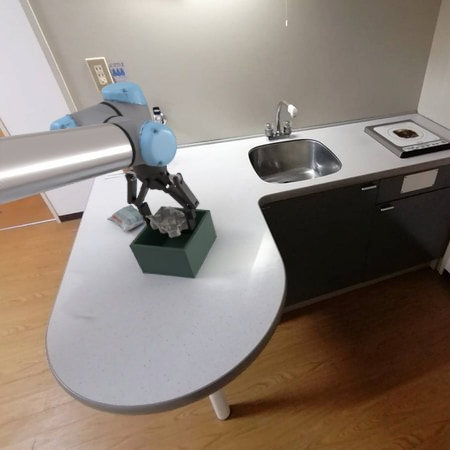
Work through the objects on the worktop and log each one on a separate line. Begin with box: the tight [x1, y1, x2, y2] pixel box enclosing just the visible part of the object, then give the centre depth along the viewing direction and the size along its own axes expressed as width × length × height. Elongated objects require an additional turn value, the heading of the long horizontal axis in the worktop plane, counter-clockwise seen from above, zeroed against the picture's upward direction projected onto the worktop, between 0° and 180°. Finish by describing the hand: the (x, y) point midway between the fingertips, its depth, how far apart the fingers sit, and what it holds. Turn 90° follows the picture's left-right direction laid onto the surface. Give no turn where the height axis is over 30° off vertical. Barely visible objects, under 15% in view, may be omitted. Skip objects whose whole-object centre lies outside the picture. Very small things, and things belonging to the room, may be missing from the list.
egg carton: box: [146, 205, 189, 238], centre depth 84 cm, size 11×8×4 cm
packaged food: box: [106, 204, 146, 233], centre depth 103 cm, size 9×12×5 cm
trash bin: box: [128, 205, 217, 279], centre depth 89 cm, size 16×18×11 cm
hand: (171, 225), depth 86 cm, fingers closed on egg carton, 12 cm apart
